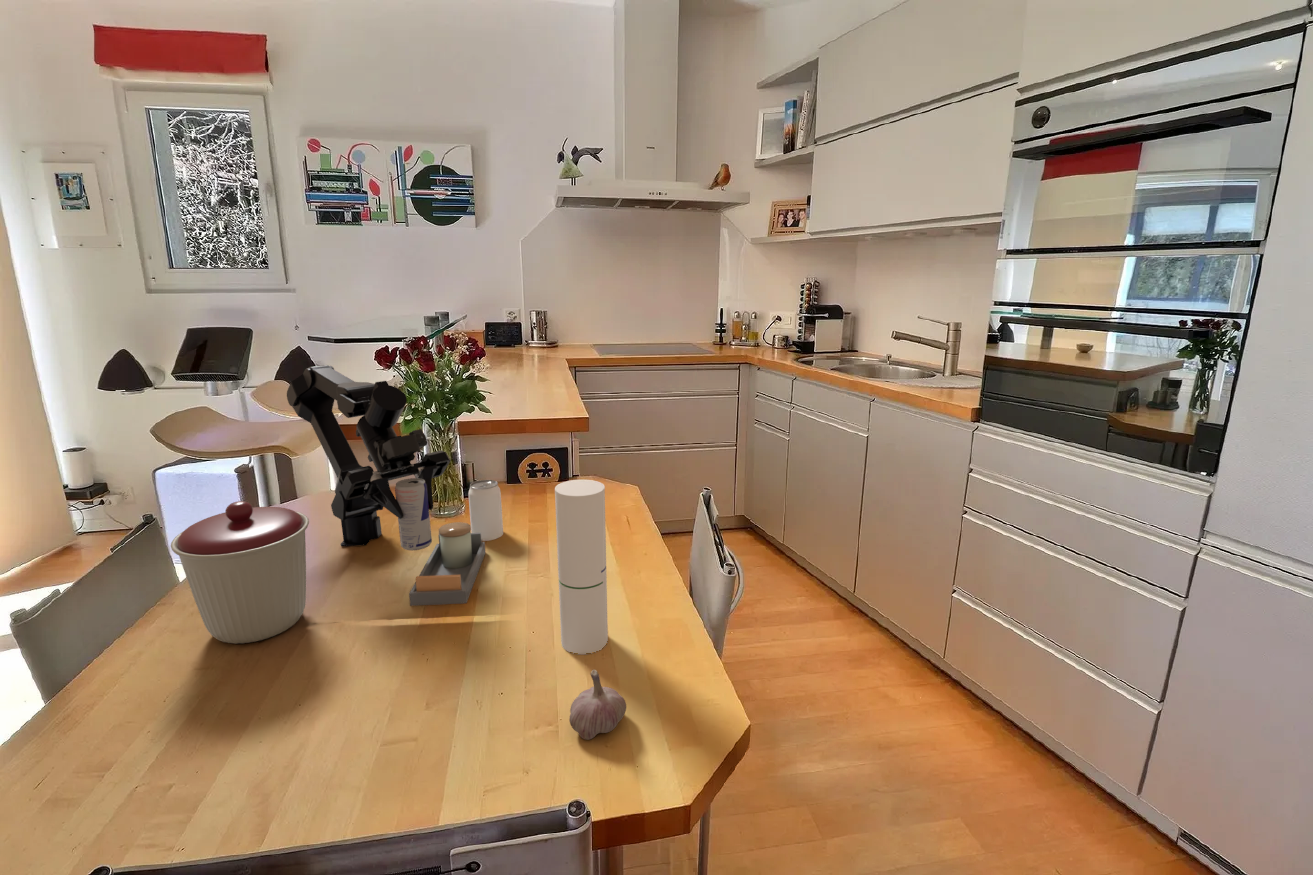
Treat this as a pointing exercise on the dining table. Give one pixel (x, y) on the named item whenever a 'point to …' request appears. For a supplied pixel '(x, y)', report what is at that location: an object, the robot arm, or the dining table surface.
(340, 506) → the robot arm
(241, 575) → the canister
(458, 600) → the grey rectangular tray
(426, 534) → the energy drink
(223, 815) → the dining table surface
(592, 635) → the cylindrical container
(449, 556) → the sage jar
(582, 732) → the garlic bulb
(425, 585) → the bar
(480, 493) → the can
